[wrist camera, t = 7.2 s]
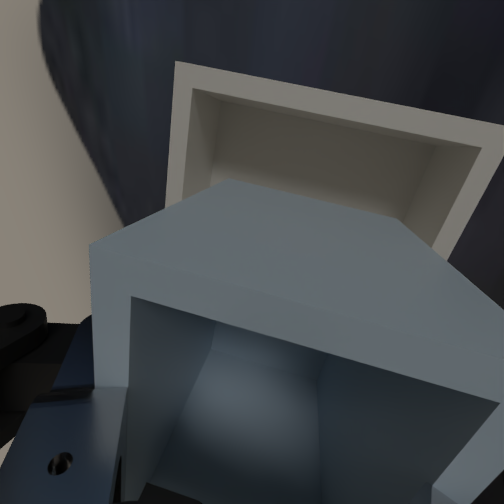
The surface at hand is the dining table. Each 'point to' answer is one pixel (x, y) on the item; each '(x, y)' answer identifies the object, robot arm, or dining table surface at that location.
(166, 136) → the dining table surface
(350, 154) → the large crate
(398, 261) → the small crate
